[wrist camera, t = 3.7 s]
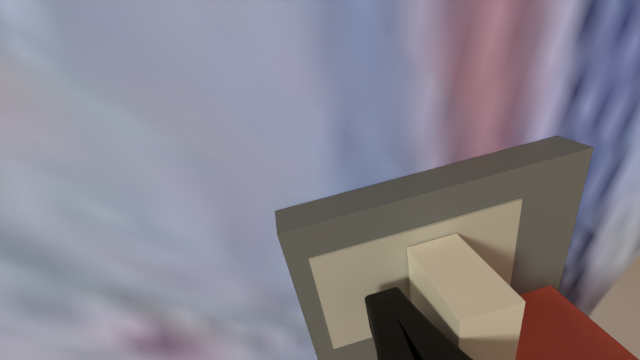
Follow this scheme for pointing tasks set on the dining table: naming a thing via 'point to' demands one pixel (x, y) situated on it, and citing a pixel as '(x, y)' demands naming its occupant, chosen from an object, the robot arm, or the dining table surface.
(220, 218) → the dining table surface
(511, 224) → the panel
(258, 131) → the dining table surface
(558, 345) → the block
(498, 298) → the switch handle
